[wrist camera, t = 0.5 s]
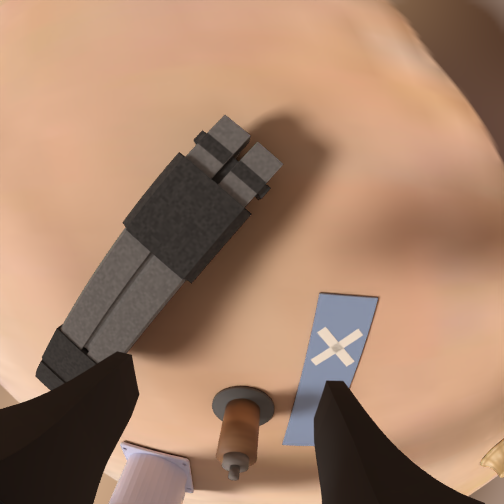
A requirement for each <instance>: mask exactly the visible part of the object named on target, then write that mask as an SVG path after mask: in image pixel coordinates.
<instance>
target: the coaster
mask: <svg viewBox="0 0 504 504" xmlns="http://www.w3.org/2000/svg"><path fill="white" fill-rule="evenodd" d="M239 398H242V399H248V400H251V401H253V402H255V403H256V404H257V405H258V406H259V407H260V421H259V426H260V425H263V424H265V423H266V422H268V421H269V420H270V419H271V418H272V416H273V413H274V404H273V402H272V400H271V398H270V397H269V396H268V395H266V394H265V393H264V392H262V391H260V390H258V389H255V388H251V387H245V386H235V387H229V388H226V389H223V390H221V391H220V392H219V393H217V394H216V396H215V397H214V399H213V403H212V409H213V411H214V413H215V415H216V416H217V417H218V418H219V419H220V420H222V421H223V418H224V413H225V408H226V405H227V403H228V402H229V401H231V400H234V399H239Z"/></svg>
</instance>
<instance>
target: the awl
mask: <svg viewBox="0 0 504 504" xmlns="http://www.w3.org/2000/svg"><path fill="white" fill-rule="evenodd" d="M259 421H260V407H259V406H258V405H257V404H256V403H255V402H253V401H251V400H248V399H242V398H239V399H234V400H231V401H229V402H228V403H227V405H226V408H225V413H224V418H223V423H222V428H221V433H220V438H219V443H218V448H217V453H216V457H217V459H218V460H219V461H220V462H221V463H222V467H223V468H224V469H225V470H227V471H229V475H228V478H229V479H230V480H238V479H239V473H240V472H245V471H247V470H248V467H249V466H251V465H253V464H254V463H255V462H256V460H257V447H258V434H259Z"/></svg>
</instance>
